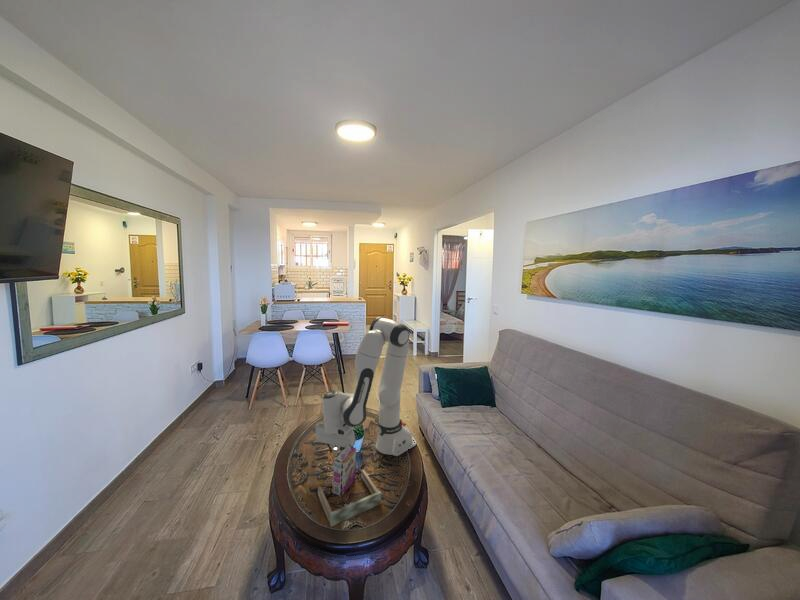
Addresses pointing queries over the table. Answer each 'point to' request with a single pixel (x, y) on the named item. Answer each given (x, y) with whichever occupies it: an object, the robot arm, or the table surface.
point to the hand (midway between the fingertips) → (336, 452)
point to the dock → (354, 507)
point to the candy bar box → (344, 470)
